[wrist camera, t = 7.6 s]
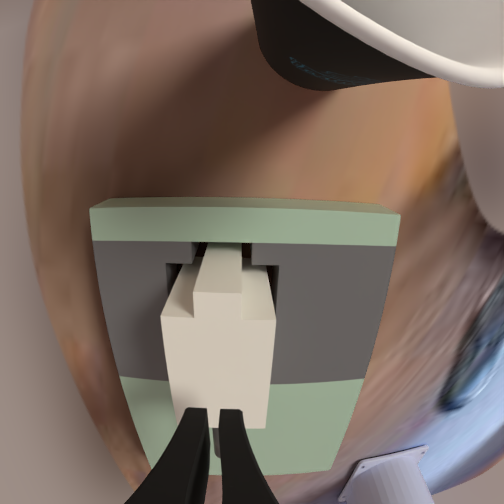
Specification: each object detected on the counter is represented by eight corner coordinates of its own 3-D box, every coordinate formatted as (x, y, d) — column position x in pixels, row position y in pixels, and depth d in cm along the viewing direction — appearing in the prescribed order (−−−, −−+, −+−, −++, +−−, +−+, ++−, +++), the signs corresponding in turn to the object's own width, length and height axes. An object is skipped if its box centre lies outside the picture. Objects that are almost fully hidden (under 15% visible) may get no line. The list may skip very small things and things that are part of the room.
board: (324, 447, 22) (329, 469, 20) (156, 445, 21) (151, 468, 19) (379, 204, 15) (400, 215, 13) (110, 198, 15) (89, 208, 13)
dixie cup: (327, -34, 11) (406, -159, 1) (410, 80, 13) (577, 48, 3) (199, 24, 12) (140, -128, 2) (289, 148, 14) (400, 162, 4)
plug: (255, 397, 20) (260, 469, 14) (196, 395, 19) (186, 467, 14) (265, 239, 16) (278, 294, 10) (186, 237, 16) (157, 290, 10)
